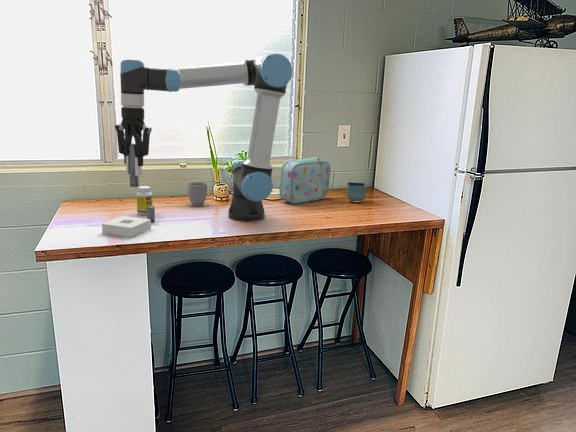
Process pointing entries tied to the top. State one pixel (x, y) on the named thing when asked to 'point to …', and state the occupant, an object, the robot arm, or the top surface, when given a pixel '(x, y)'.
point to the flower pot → (356, 191)
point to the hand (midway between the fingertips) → (133, 174)
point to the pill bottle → (143, 199)
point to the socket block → (126, 226)
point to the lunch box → (304, 180)
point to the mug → (197, 193)
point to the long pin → (133, 166)
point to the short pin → (151, 213)
